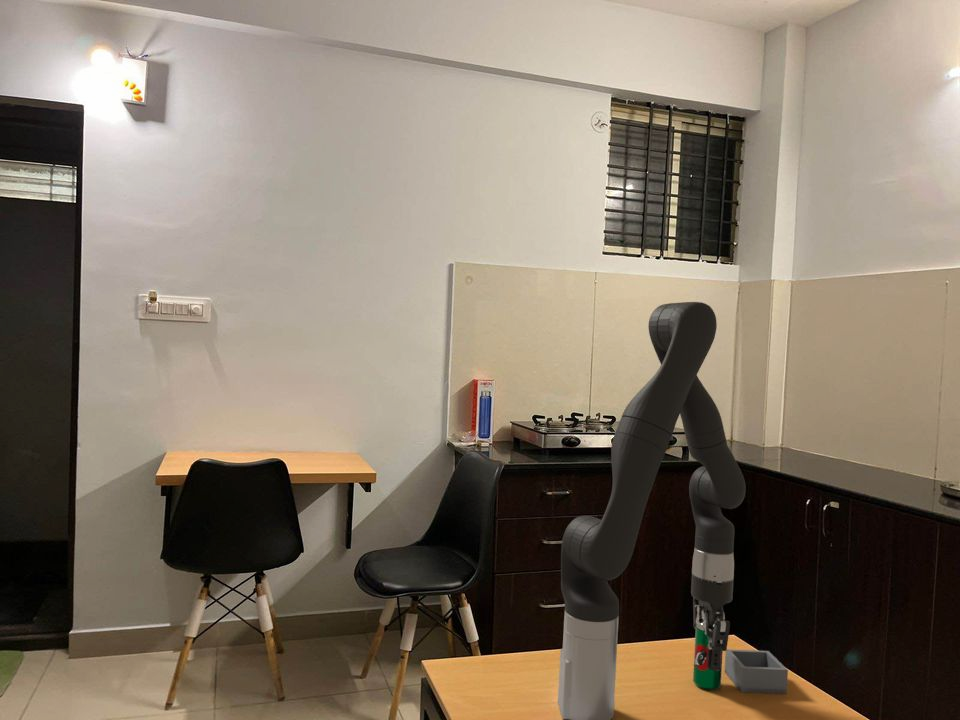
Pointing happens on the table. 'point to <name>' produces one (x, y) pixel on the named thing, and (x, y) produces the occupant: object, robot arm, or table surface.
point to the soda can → (704, 662)
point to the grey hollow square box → (756, 671)
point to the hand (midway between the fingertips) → (708, 662)
